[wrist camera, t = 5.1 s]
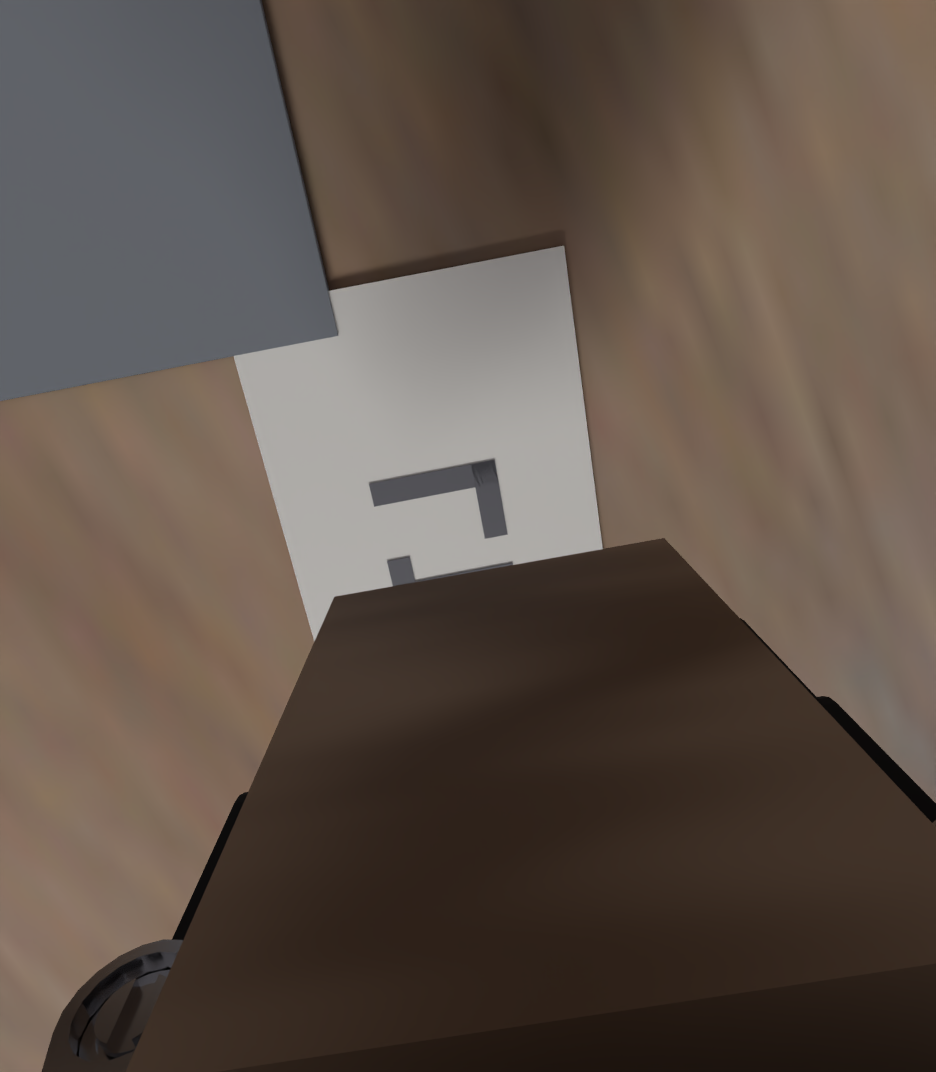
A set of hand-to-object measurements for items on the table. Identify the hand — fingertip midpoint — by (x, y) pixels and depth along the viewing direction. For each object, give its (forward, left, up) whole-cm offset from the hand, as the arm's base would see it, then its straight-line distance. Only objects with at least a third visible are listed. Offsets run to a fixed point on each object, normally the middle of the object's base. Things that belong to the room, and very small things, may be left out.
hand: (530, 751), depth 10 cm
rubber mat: (+7, -11, -9) cm, 15 cm away
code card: (+1, -1, -9) cm, 9 cm away
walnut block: (0, 0, -1) cm, 1 cm away
